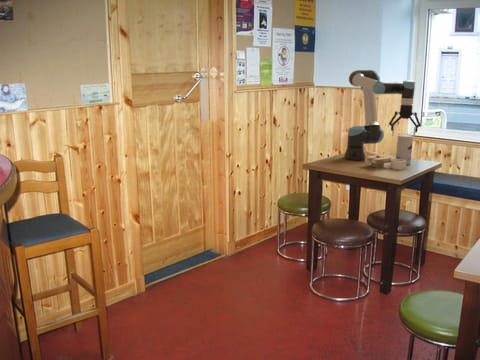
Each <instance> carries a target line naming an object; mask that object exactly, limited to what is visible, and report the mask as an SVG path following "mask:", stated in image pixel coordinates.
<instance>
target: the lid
mask: <svg viewBox="0 0 480 360" xmlns="http://www.w3.org/2000/svg"><path fill="white" fill-rule="evenodd" d="M391 159H392V158H391V157H389V156H384V155H379V154H377V155H368V156H367V155H365V159H364V161H365V162H369V163H370V164H371V163H375V164H383V163H384V164H390V163H391Z"/></svg>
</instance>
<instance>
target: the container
mask: <svg viewBox="0 0 480 360" xmlns="http://www.w3.org/2000/svg"><path fill="white" fill-rule="evenodd" d="M413 139H414V137H413V135H411V134H398V135H397V142H396V143H397V144H396V153H395V154H396V155H395V159H403V160H406V166H408V165H410V164H411V163H412V162H411V161H412V150H413V141H414V140H413Z"/></svg>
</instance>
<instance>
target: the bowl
mask: <svg viewBox="0 0 480 360" xmlns="http://www.w3.org/2000/svg"><path fill="white" fill-rule="evenodd" d="M389 164H390V166H389V167H390V169H393V170H396V169H397V171H399V170H402V171H403V170H406V166H407V165H406V160H403V159H396V158H391V162H390V163H389Z"/></svg>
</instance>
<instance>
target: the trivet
mask: <svg viewBox="0 0 480 360" xmlns="http://www.w3.org/2000/svg"><path fill="white" fill-rule="evenodd" d="M370 167H373V168H376V169H379V168H384V167H385V163H383V164H375V163H371V162H370Z"/></svg>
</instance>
